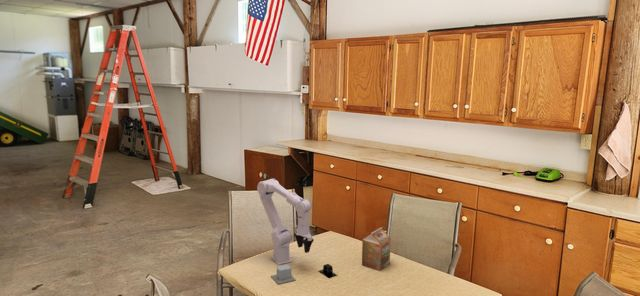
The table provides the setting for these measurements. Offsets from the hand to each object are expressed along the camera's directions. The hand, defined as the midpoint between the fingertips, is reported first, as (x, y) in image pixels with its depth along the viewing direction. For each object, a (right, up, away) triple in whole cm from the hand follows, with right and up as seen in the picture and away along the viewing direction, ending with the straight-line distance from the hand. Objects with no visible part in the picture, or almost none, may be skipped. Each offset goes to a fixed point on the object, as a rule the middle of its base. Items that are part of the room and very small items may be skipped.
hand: (303, 249), depth 218 cm
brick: (-9, -11, -10) cm, 17 cm away
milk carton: (+37, -10, +6) cm, 39 cm away
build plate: (+12, -12, -4) cm, 17 cm away
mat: (-9, -12, -10) cm, 18 cm away
